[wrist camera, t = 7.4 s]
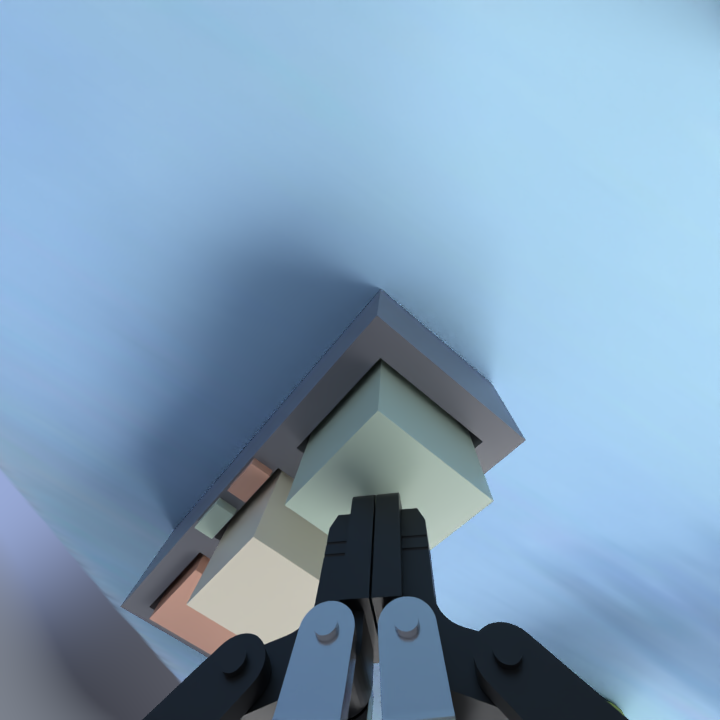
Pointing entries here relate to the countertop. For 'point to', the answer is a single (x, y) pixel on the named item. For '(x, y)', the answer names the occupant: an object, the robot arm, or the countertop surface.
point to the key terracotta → (189, 611)
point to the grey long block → (309, 407)
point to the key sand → (263, 567)
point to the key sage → (390, 457)
